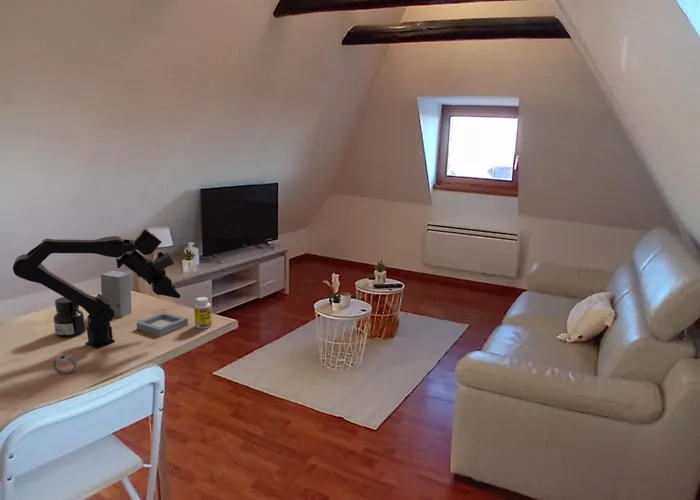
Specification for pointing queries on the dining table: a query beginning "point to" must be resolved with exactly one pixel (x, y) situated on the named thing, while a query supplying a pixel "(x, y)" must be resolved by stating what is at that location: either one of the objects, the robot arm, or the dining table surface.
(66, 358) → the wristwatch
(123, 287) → the skincare box
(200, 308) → the supplement bottle
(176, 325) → the tray
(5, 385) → the dining table surface
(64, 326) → the ink bottle
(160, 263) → the robot arm
